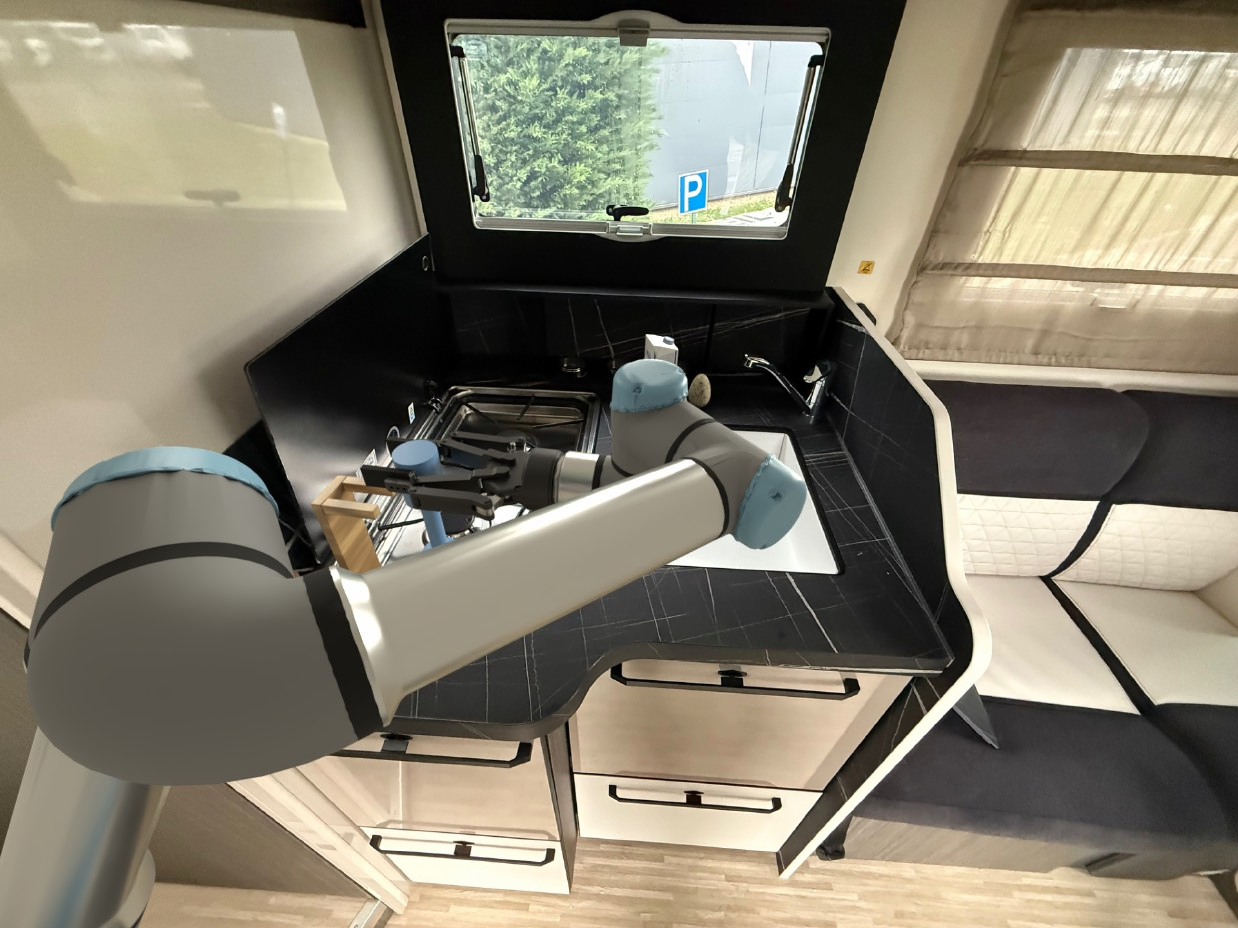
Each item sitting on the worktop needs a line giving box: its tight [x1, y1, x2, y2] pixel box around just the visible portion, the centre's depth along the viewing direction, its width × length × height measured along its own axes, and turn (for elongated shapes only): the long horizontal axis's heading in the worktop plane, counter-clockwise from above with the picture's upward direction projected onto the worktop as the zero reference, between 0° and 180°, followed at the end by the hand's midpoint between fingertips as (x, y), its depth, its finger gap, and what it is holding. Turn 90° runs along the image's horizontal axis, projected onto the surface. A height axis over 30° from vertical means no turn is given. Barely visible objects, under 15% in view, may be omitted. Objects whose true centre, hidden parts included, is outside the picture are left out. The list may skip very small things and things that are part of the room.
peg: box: [391, 439, 456, 552], centre depth 68 cm, size 5×5×18 cm
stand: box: [310, 474, 397, 573], centre depth 77 cm, size 10×9×30 cm
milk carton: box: [644, 334, 679, 366], centre depth 139 cm, size 7×7×20 cm
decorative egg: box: [687, 373, 712, 409], centre depth 142 cm, size 6×6×10 cm
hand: (377, 460), depth 64 cm, fingers closed on peg, 5 cm apart
